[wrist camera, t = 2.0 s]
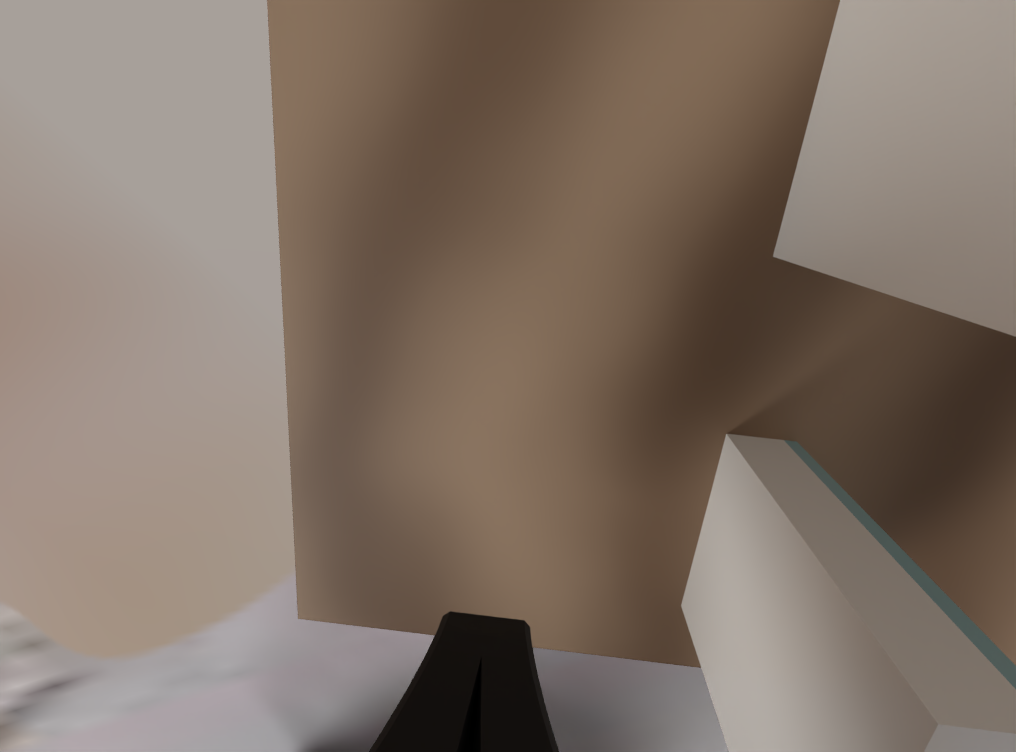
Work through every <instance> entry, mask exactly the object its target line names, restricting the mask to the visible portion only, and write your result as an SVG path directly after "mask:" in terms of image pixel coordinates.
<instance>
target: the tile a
mask: <svg viewBox="0 0 1016 752" xmlns="http://www.w3.org/2000/svg"><path fill="white" fill-rule="evenodd" d="M681 607H682V610H683V613H684V616H685V619H686V622H687V626H688V629H689V632H690V635H691V638H692V641H693V644H694V647H695V650H696V653H697V656H698V659H699V662H700V665H701V668H702V671H703V674H704V677H705V680H706V684H707V687H708V690H709V693H710V696H711V699H712V702H713V705H714V708H715V711H716V714H717V717H718V720H719V723H720V726H721V729H722V732H723V735H724V738H725V742H726V745H727V748H728V751H729V752H1016V665H1015V664H1014V663H1013V662H1012V661H1011V660H1010V659H1009V658H1008V657H1007V656H1006V655H1005V654H1004V653H1003V652H1002V651H1001V650H1000V649H999V648H998V647H997V646H996V645H995V644H994V643H993V642H992V641H991V640H990V639H989V638H988V637H987V636H986V635H985V634H984V633H983V632H982V631H981V630H980V629H979V627H978V626H977V625H976V624H975V623H974V622H973V621H972V620H971V619H970V618H969V617H968V616H967V615H966V614H965V613H964V612H963V611H962V610H961V609H960V608H959V607H958V606H957V605H956V604H955V603H954V602H953V601H952V600H951V599H950V598H949V597H948V596H947V595H946V594H945V593H944V592H943V591H942V590H941V589H940V588H939V587H938V586H937V585H936V583H935V582H934V581H933V580H932V579H931V578H930V577H929V576H928V575H927V574H926V573H925V572H924V571H923V570H922V569H921V568H920V567H919V566H918V565H917V564H916V563H915V562H914V561H913V560H912V559H911V558H910V557H909V556H908V555H907V554H906V553H905V552H904V551H903V550H902V549H901V548H900V547H899V546H898V545H897V544H896V543H895V542H894V541H893V539H892V538H891V537H890V536H889V535H888V534H887V533H886V532H885V531H884V530H883V529H882V528H881V527H880V526H879V525H878V524H877V523H876V522H875V521H874V520H873V519H872V518H871V517H870V516H869V515H868V514H867V513H866V512H865V511H864V510H863V509H862V508H861V507H860V506H859V505H858V504H857V503H856V502H855V501H854V500H853V499H852V498H851V496H850V495H849V494H848V493H847V492H846V491H845V490H844V489H843V488H842V487H841V486H840V485H839V484H838V483H837V482H836V481H835V480H834V479H833V478H832V477H831V476H830V475H829V474H828V473H827V472H826V471H825V470H824V469H823V468H822V467H821V466H820V465H819V464H818V463H817V462H816V461H815V460H814V459H813V458H812V457H811V456H810V455H809V454H808V452H807V451H806V450H805V449H804V448H803V447H802V446H801V445H800V444H799V443H798V442H796V441H787V440H779V439H770V438H761V437H752V436H743V435H734V434H726V437H725V441H724V444H723V448H722V452H721V456H720V460H719V463H718V467H717V471H716V475H715V479H714V482H713V486H712V490H711V494H710V498H709V502H708V505H707V509H706V513H705V517H704V521H703V524H702V528H701V532H700V536H699V540H698V543H697V547H696V551H695V555H694V559H693V562H692V566H691V570H690V574H689V578H688V581H687V585H686V589H685V593H684V597H683V600H682V604H681Z"/></svg>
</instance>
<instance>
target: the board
mask: <svg viewBox="0 0 1016 752" xmlns="http://www.w3.org/2000/svg"><path fill="white" fill-rule="evenodd" d="M839 3H840V0H267V6H268V26H269V46H270V66H271V85H272V105H273V124H274V125H273V126H274V145H275V166H276V185H277V206H278V226H279V245H280V266H281V286H282V304H283V305H282V306H283V326H284V346H285V365H286V384H287V385H286V386H287V406H288V426H289V446H290V466H291V485H292V505H293V525H294V544H295V545H294V546H295V566H296V586H297V606H298V619H305V620H314V621H322V622H330V623H338V624H346V625H355V626H363V627H371V628H379V629H387V630H396V631H404V632H412V633H420V634H428V635H435V634H436V632H437V630H438V627H439V624H440V622H441V619H442V616H443V615H445V614H447V613H448V612H450V611H452V612H460V613H468V614H477V615H485V616H493V617H501V618H510V619H518V620H525V622H526V623H527V624H528V625H529V626H530V631H531V641H532V647H535V648H543V649H551V650H560V651H568V652H576V653H584V654H592V655H601V656H609V657H617V658H625V659H633V660H642V661H650V662H658V663H666V664H674V665H683V666H691V667H699V668H701V665H700V662H699V659H698V656H697V653H696V650H695V647H694V644H693V641H692V638H691V635H690V632H689V629H688V626H687V622H686V619H685V616H684V613H683V610H682V607H681V604H682V600H683V597H684V593H685V589H686V585H687V581H688V578H689V574H690V570H691V566H692V562H693V559H694V555H695V551H696V547H697V543H698V540H699V536H700V532H701V528H702V524H703V521H704V517H705V513H706V509H707V505H708V502H709V498H710V494H711V490H712V486H713V482H714V479H715V475H716V471H717V467H718V463H719V460H720V456H721V452H722V448H723V444H724V441H725V437H726V434H734V435H743V436H752V437H761V438H770V439H779V440H787V441H796V442H798V443H799V444H800V445H801V446H802V447H803V448H804V449H805V450H806V451H807V452H808V454H809V455H810V456H811V457H812V458H813V459H814V460H815V461H816V462H817V463H818V464H819V465H820V466H821V467H822V468H823V469H824V470H825V471H826V472H827V473H828V474H829V475H830V476H831V477H832V478H833V479H834V480H835V481H836V482H837V483H838V484H839V485H840V486H841V487H842V488H843V489H844V490H845V491H846V492H847V493H848V494H849V495H850V496H851V498H852V499H853V500H854V501H855V502H856V503H857V504H858V505H859V506H860V507H861V508H862V509H863V510H864V511H865V512H866V513H867V514H868V515H869V516H870V517H871V518H872V519H873V520H874V521H875V522H876V523H877V524H878V525H879V526H880V527H881V528H882V529H883V530H884V531H885V532H886V533H887V534H888V535H889V536H890V537H891V538H892V539H893V541H894V542H895V543H896V544H897V545H898V546H899V547H900V548H901V549H902V550H903V551H904V552H905V553H906V554H907V555H908V556H909V557H910V558H911V559H912V560H913V561H914V562H915V563H916V564H917V565H918V566H919V567H920V568H921V569H922V570H923V571H924V572H925V573H926V574H927V575H928V576H929V577H930V578H931V579H932V580H933V581H934V582H935V583H936V585H937V586H938V587H939V588H940V589H941V590H942V591H943V592H944V593H945V594H946V595H947V596H948V597H949V598H950V599H951V600H952V601H953V602H954V603H955V604H956V605H957V606H958V607H959V608H960V609H961V610H962V611H963V612H964V613H965V614H966V615H967V616H968V617H969V618H970V619H971V620H972V621H973V622H974V623H975V624H976V625H977V626H978V627H979V629H980V630H981V631H982V632H983V633H984V634H985V635H986V636H987V637H988V638H989V639H990V640H991V641H992V642H993V643H994V644H995V645H996V646H997V647H998V648H999V649H1000V650H1001V651H1002V652H1003V653H1004V654H1005V655H1006V656H1007V657H1008V658H1009V659H1010V660H1011V661H1012V662H1013V663H1014V664H1015V665H1016V337H1015V336H1012V335H1009V334H1006V333H1003V332H1000V331H997V330H994V329H991V328H988V327H985V326H982V325H979V324H976V323H973V322H970V321H967V320H964V319H961V318H958V317H955V316H952V315H949V314H945V313H942V312H939V311H936V310H933V309H930V308H927V307H924V306H921V305H918V304H915V303H912V302H909V301H906V300H903V299H900V298H897V297H894V296H891V295H888V294H885V293H882V292H879V291H876V290H873V289H870V288H867V287H864V286H860V285H857V284H854V283H851V282H848V281H845V280H842V279H839V278H836V277H833V276H830V275H827V274H824V273H821V272H818V271H815V270H812V269H809V268H806V267H803V266H800V265H797V264H794V263H791V262H788V261H785V260H782V259H779V258H775V257H773V254H774V250H775V247H776V243H777V239H778V235H779V231H780V228H781V224H782V220H783V216H784V212H785V208H786V205H787V201H788V197H789V193H790V189H791V186H792V182H793V178H794V174H795V170H796V167H797V163H798V159H799V155H800V151H801V148H802V144H803V140H804V136H805V132H806V129H807V125H808V121H809V117H810V113H811V110H812V106H813V102H814V98H815V94H816V91H817V87H818V83H819V79H820V75H821V71H822V68H823V64H824V60H825V56H826V52H827V49H828V45H829V41H830V37H831V33H832V30H833V26H834V22H835V18H836V14H837V11H838V7H839Z"/></svg>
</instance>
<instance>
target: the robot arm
mask: <svg viewBox="0 0 1016 752" xmlns="http://www.w3.org/2000/svg"><path fill="white" fill-rule="evenodd" d="M369 752H559V751H558V747H557V744H556V741H555V738H554V734H553V731H552V728H551V725H550V721H549V718H548V714H547V710H546V707H545V703H544V699H543V695H542V691H541V687H540V683H539V679H538V674H537V669H536V664H535V659H534V654H533V647H532V641H531V631H530V626H529V625H528V624H527V623H526V622H525V620H518V619H510V618H501V617H493V616H485V615H477V614H468V613H460V612H452V611H450V612H448V613H447V614H445V615H443V616H442V619H441V622H440V624H439V627H438V630H437V632H436V634H435V636H434V639H433V641H432V643H431V645H430V647H429V649H428V651H427V653H426V655H425V657H424V659H423V661H422V663H421V665H420V667H419V669H418V671H417V672H416V674H415V676H414V678H413V680H412V682H411V683H410V685H409V687H408V689H407V690H406V692H405V694H404V695H403V697H402V699H401V700H400V702H399V704H398V705H397V707H396V709H395V710H394V712H393V714H392V716H391V717H390V719H389V721H388V722H387V724H386V726H385V727H384V729H383V731H382V732H381V734H380V735H379V737H378V738H377V740H376V742H375V743H374V745H373V746H372V748H371V749H370V751H369Z"/></svg>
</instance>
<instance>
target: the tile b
mask: <svg viewBox="0 0 1016 752" xmlns="http://www.w3.org/2000/svg"><path fill="white" fill-rule="evenodd" d="M773 257H775V258H779V259H782V260H785V261H788V262H791V263H794V264H797V265H800V266H803V267H806V268H809V269H812V270H815V271H818V272H821V273H824V274H827V275H830V276H833V277H836V278H839V279H842V280H845V281H848V282H851V283H854V284H857V285H860V286H864V287H867V288H870V289H873V290H876V291H879V292H882V293H885V294H888V295H891V296H894V297H897V298H900V299H903V300H906V301H909V302H912V303H915V304H918V305H921V306H924V307H927V308H930V309H933V310H936V311H939V312H942V313H945V314H949V315H952V316H955V317H958V318H961V319H964V320H967V321H970V322H973V323H976V324H979V325H982V326H985V327H988V328H991V329H994V330H997V331H1000V332H1003V333H1006V334H1009V335H1012V336H1015V337H1016V0H840V3H839V7H838V11H837V14H836V18H835V22H834V26H833V30H832V33H831V37H830V41H829V45H828V49H827V52H826V56H825V60H824V64H823V68H822V71H821V75H820V79H819V83H818V87H817V91H816V94H815V98H814V102H813V106H812V110H811V113H810V117H809V121H808V125H807V129H806V132H805V136H804V140H803V144H802V148H801V151H800V155H799V159H798V163H797V167H796V170H795V174H794V178H793V182H792V186H791V189H790V193H789V197H788V201H787V205H786V208H785V212H784V216H783V220H782V224H781V228H780V231H779V235H778V239H777V243H776V247H775V250H774V254H773Z"/></svg>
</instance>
